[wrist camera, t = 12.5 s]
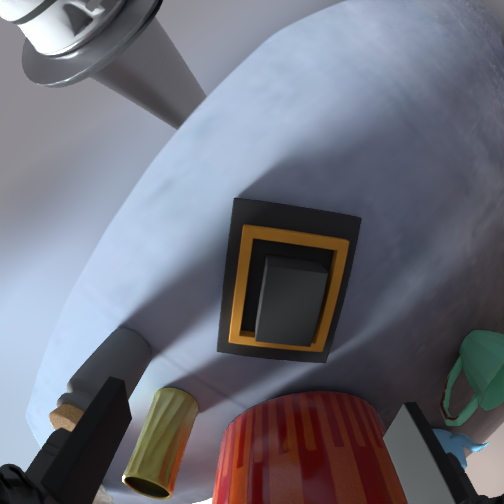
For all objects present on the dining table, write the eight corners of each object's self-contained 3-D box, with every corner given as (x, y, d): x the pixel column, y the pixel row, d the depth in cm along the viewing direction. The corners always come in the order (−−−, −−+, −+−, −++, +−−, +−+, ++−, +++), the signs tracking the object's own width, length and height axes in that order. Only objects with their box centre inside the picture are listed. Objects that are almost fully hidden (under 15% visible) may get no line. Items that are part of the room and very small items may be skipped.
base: (235, 197, 26) (232, 198, 24) (357, 216, 26) (366, 219, 24) (218, 346, 30) (214, 358, 27) (323, 357, 30) (328, 369, 27)
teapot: (474, 411, 33) (500, 447, 22) (409, 469, 37) (425, 507, 25) (449, 399, 32) (480, 443, 21) (375, 465, 35) (390, 511, 24)
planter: (216, 469, 36) (201, 568, 16) (231, 374, 30) (208, 534, 11) (345, 474, 36) (364, 561, 16) (403, 384, 31) (466, 495, 11)
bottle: (160, 363, 30) (113, 456, 16) (124, 370, 31) (72, 452, 16) (137, 322, 29) (69, 407, 15) (101, 332, 30) (33, 406, 15)
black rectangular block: (266, 253, 26) (267, 264, 22) (319, 260, 26) (328, 273, 22) (255, 321, 27) (254, 341, 24) (304, 326, 27) (310, 347, 24)
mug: (483, 300, 28) (529, 330, 18) (497, 337, 29) (533, 367, 19) (410, 375, 30) (442, 423, 21) (433, 402, 32) (460, 443, 22)
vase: (203, 418, 32) (184, 504, 19) (162, 417, 33) (132, 495, 19) (192, 386, 31) (163, 478, 17) (148, 386, 31) (107, 467, 18)
